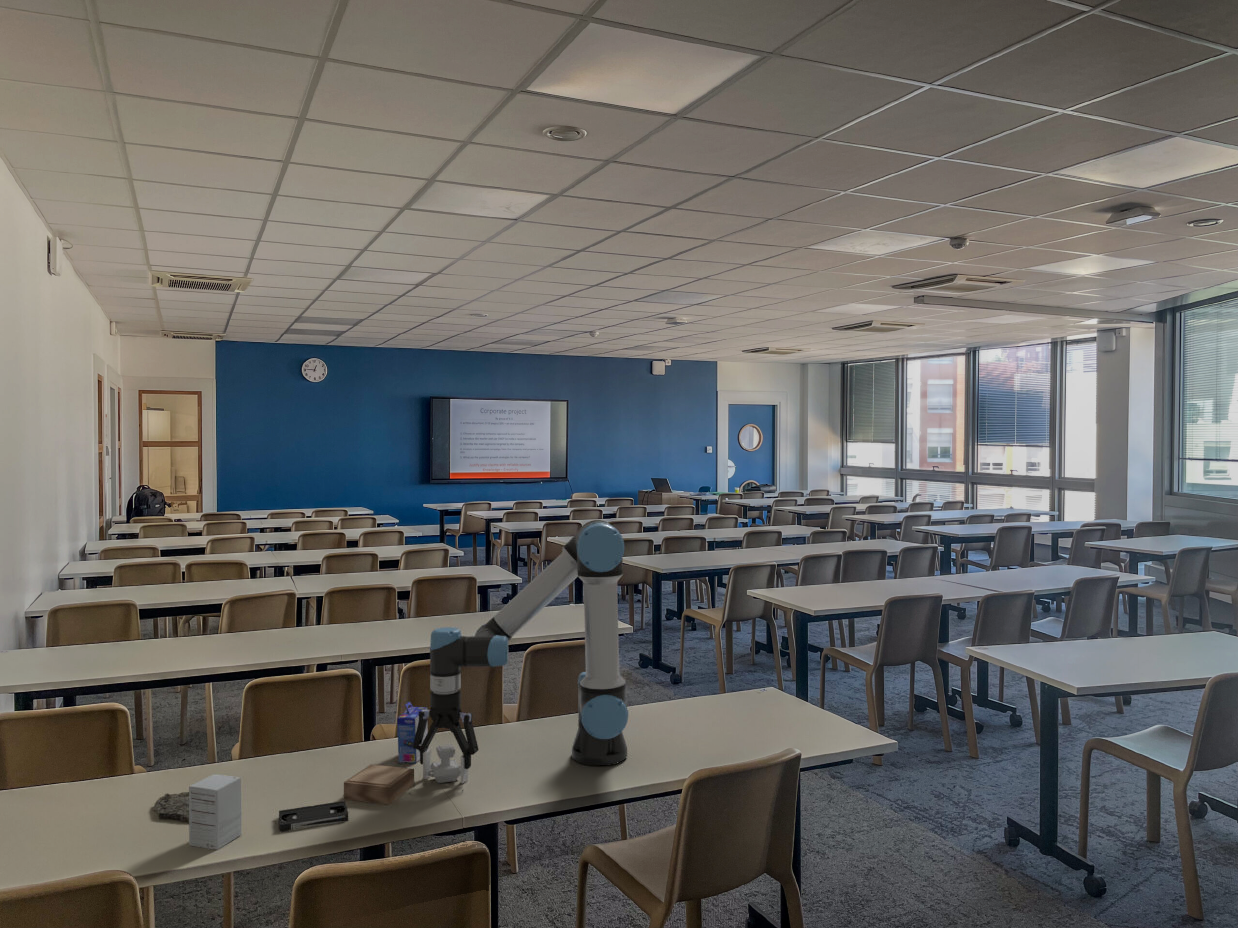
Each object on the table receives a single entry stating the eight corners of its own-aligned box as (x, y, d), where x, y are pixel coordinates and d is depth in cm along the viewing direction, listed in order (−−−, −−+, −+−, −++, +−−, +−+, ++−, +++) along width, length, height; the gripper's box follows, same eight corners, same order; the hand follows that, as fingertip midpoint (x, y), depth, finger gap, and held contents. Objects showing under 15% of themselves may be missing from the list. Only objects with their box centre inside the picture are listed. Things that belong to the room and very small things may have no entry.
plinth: (414, 784, 208) (414, 767, 208) (389, 804, 196) (389, 786, 196) (370, 780, 211) (370, 763, 211) (343, 798, 199) (343, 781, 199)
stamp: (460, 772, 216) (460, 740, 216) (465, 782, 210) (465, 748, 210) (425, 777, 213) (425, 744, 212) (429, 787, 206) (429, 753, 206)
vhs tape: (279, 833, 182) (279, 824, 182) (278, 819, 189) (278, 810, 189) (348, 822, 187) (348, 813, 187) (345, 809, 194) (345, 800, 194)
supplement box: (214, 830, 182) (214, 772, 182) (242, 835, 180) (242, 776, 180) (187, 845, 175) (187, 785, 175) (216, 850, 173) (216, 789, 173)
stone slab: (179, 796, 202) (179, 784, 202) (236, 804, 197) (236, 791, 197) (135, 818, 190) (135, 805, 190) (195, 827, 185) (195, 813, 185)
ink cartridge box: (409, 749, 233) (409, 697, 233) (428, 750, 232) (428, 698, 232) (396, 762, 223) (396, 708, 223) (416, 763, 222) (416, 708, 222)
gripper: (398, 691, 210) (398, 780, 210) (480, 697, 205) (480, 788, 205) (412, 683, 217) (412, 769, 217) (492, 689, 212) (492, 777, 212)
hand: (445, 778), depth 211 cm, fingers open, 10 cm apart
